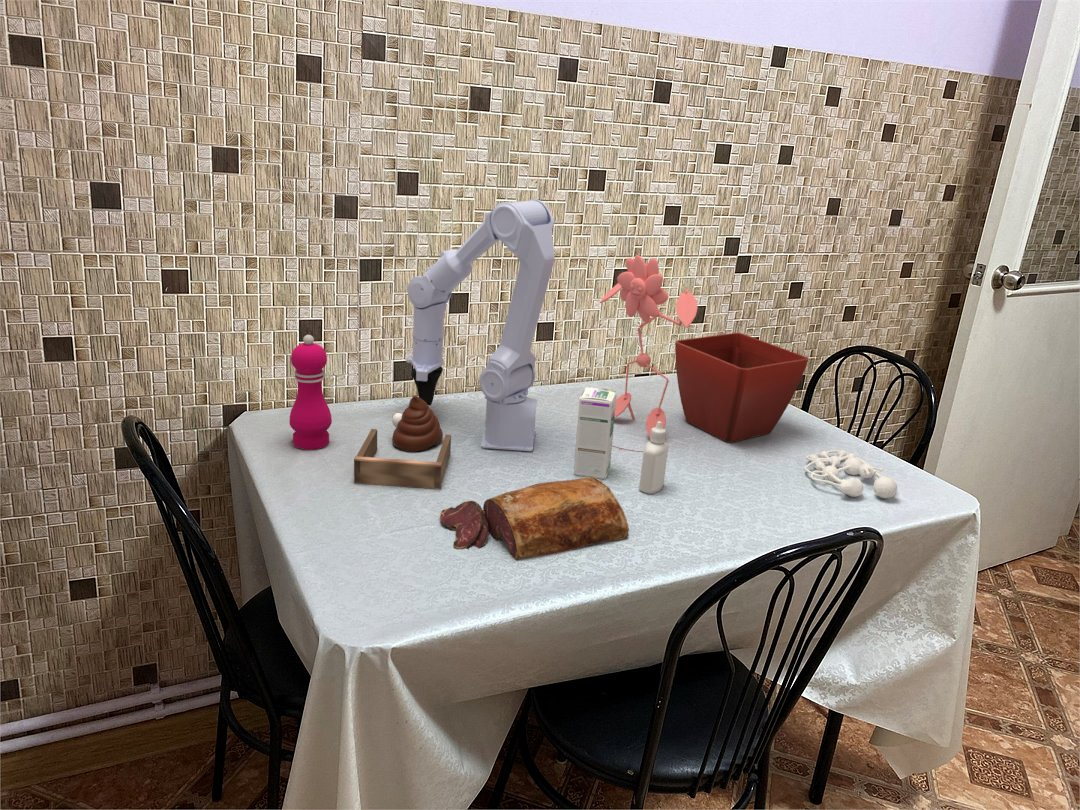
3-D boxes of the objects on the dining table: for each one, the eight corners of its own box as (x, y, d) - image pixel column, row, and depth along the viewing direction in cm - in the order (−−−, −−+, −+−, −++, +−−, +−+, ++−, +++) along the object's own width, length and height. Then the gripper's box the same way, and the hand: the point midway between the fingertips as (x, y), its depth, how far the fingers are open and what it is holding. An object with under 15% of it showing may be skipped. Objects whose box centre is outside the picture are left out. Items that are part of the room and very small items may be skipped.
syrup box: (605, 480, 145) (614, 401, 140) (572, 475, 146) (579, 396, 141) (610, 467, 150) (618, 390, 145) (577, 462, 151) (584, 385, 146)
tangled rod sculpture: (786, 460, 162) (788, 440, 161) (860, 458, 162) (863, 438, 161) (820, 504, 144) (823, 482, 142) (904, 502, 144) (907, 480, 143)
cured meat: (425, 517, 128) (426, 477, 126) (564, 489, 141) (568, 452, 138) (477, 579, 114) (480, 535, 112) (627, 542, 126) (633, 502, 124)
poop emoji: (417, 457, 148) (418, 407, 145) (380, 444, 152) (380, 396, 149) (452, 440, 156) (454, 393, 153) (416, 428, 160) (417, 382, 157)
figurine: (610, 405, 180) (625, 240, 167) (698, 449, 161) (722, 267, 148) (552, 418, 171) (563, 245, 158) (638, 466, 152) (659, 274, 139)
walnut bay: (450, 455, 150) (451, 433, 148) (440, 489, 137) (441, 465, 135) (371, 449, 150) (371, 427, 148) (354, 482, 137) (353, 458, 135)
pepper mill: (281, 445, 149) (277, 336, 142) (306, 432, 155) (304, 326, 148) (315, 454, 146) (313, 343, 139) (340, 440, 152) (338, 333, 145)
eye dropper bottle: (672, 490, 143) (681, 424, 139) (645, 495, 140) (653, 429, 136) (656, 479, 146) (665, 415, 142) (630, 484, 144) (638, 419, 139)
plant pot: (796, 437, 170) (811, 357, 164) (729, 453, 160) (743, 368, 154) (727, 406, 185) (739, 331, 179) (662, 419, 174) (672, 340, 168)
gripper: (413, 325, 168) (411, 390, 172) (400, 346, 154) (399, 415, 159) (448, 328, 168) (446, 392, 172) (438, 349, 154) (436, 418, 159)
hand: (426, 404), depth 166 cm, fingers closed
